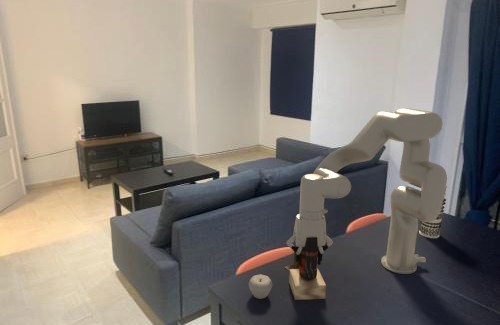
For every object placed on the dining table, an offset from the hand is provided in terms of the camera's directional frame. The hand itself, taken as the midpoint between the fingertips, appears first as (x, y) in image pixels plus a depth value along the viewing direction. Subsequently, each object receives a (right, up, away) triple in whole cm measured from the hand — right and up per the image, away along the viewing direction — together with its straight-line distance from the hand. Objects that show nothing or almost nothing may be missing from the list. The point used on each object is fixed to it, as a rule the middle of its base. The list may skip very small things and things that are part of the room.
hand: (308, 262), depth 118 cm
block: (0, -10, +3) cm, 10 cm away
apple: (-16, -11, 0) cm, 19 cm away
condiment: (-1, -7, +15) cm, 17 cm away
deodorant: (0, -5, +1) cm, 5 cm away
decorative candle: (+63, 0, +44) cm, 77 cm away
